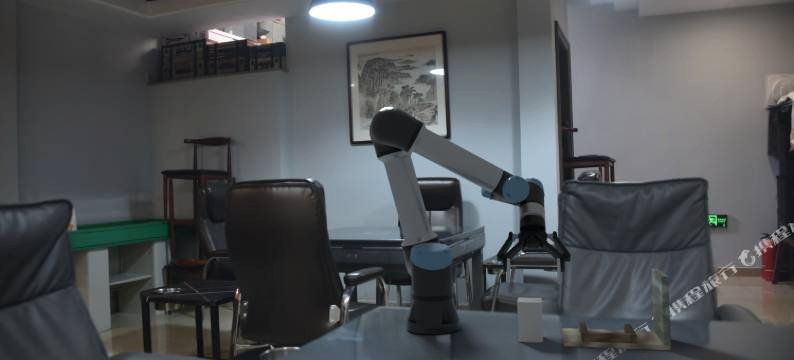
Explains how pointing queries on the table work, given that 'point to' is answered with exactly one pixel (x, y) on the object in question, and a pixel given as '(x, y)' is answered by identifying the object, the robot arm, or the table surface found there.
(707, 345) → the table surface
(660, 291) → the display stand
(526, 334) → the grey upright block
